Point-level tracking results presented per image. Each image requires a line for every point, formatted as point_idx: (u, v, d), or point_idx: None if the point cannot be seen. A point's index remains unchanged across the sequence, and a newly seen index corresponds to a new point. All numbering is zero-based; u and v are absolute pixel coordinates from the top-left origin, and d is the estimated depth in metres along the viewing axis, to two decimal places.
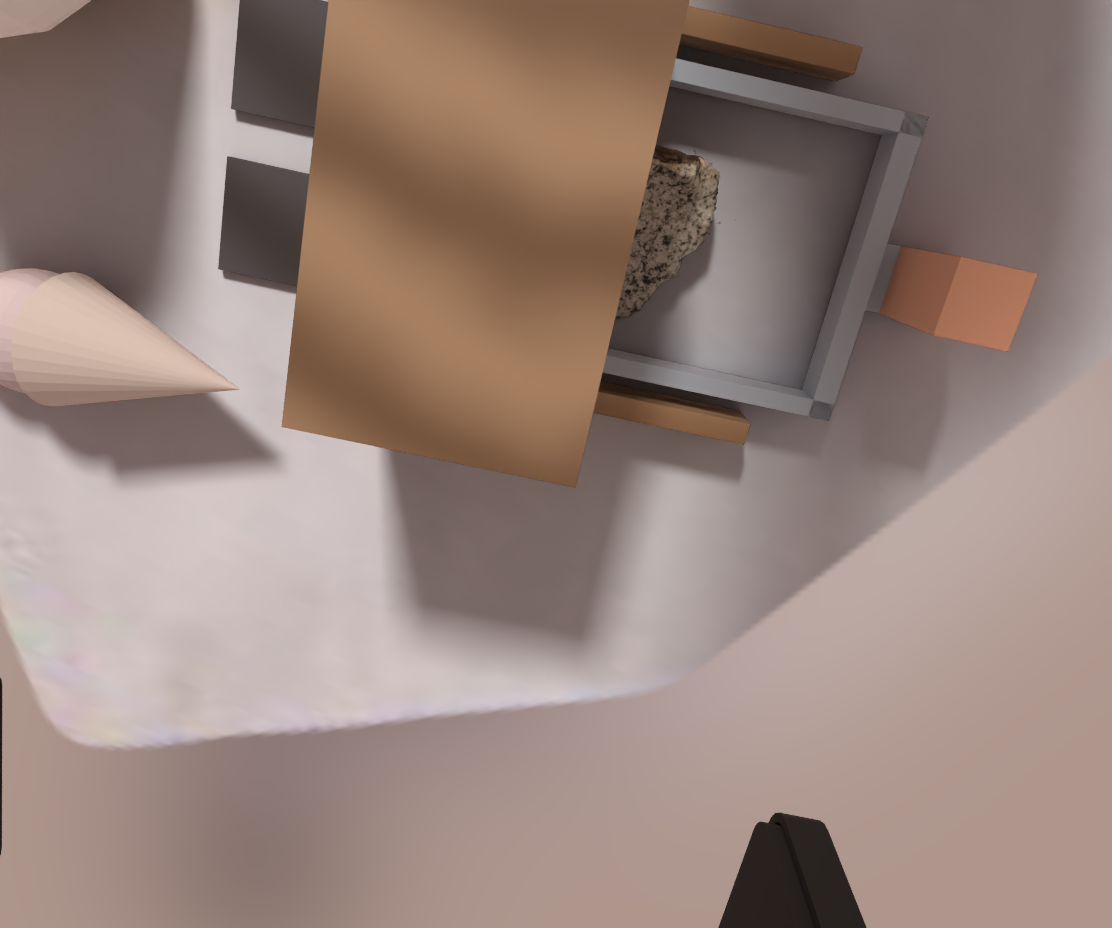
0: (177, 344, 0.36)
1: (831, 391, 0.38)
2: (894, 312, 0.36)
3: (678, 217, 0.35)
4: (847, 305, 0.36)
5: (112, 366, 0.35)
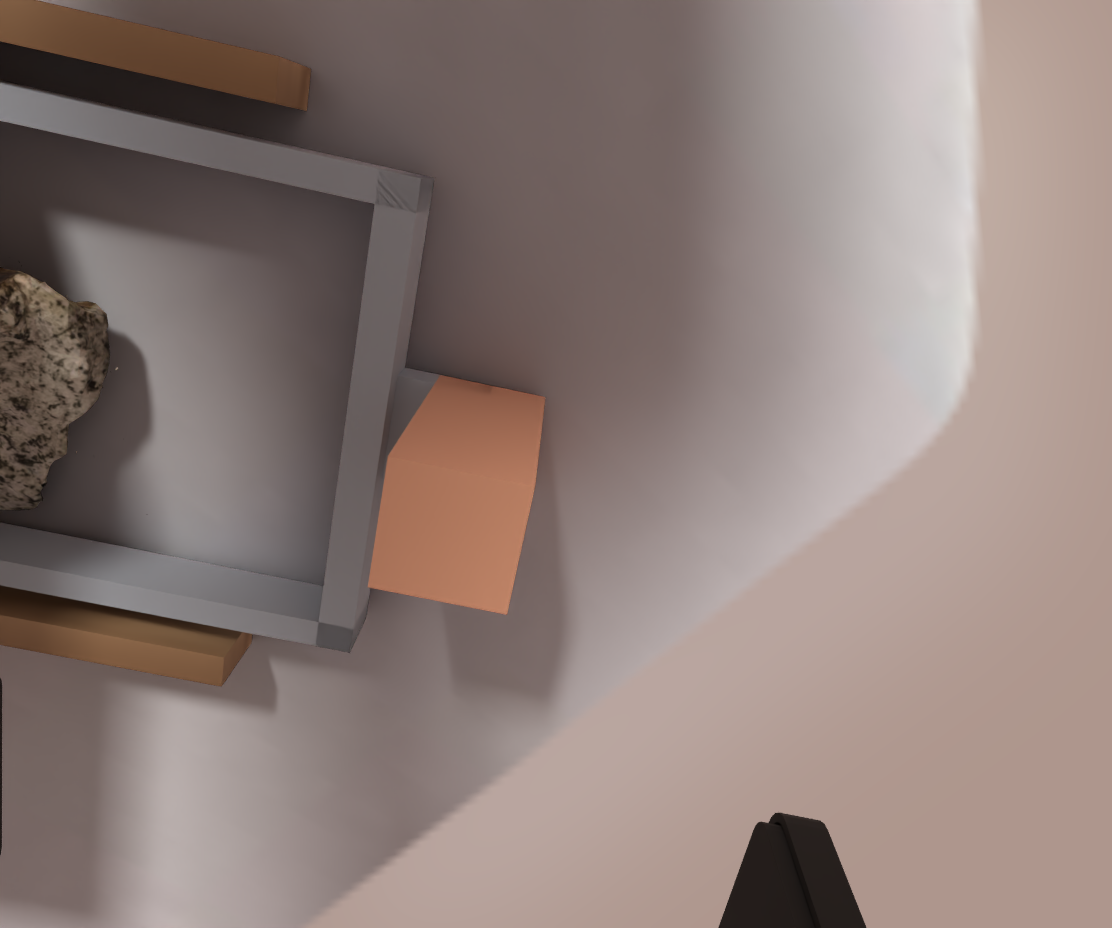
0: None
1: (344, 610, 0.23)
2: None
3: (22, 369, 0.21)
4: (344, 481, 0.22)
5: None
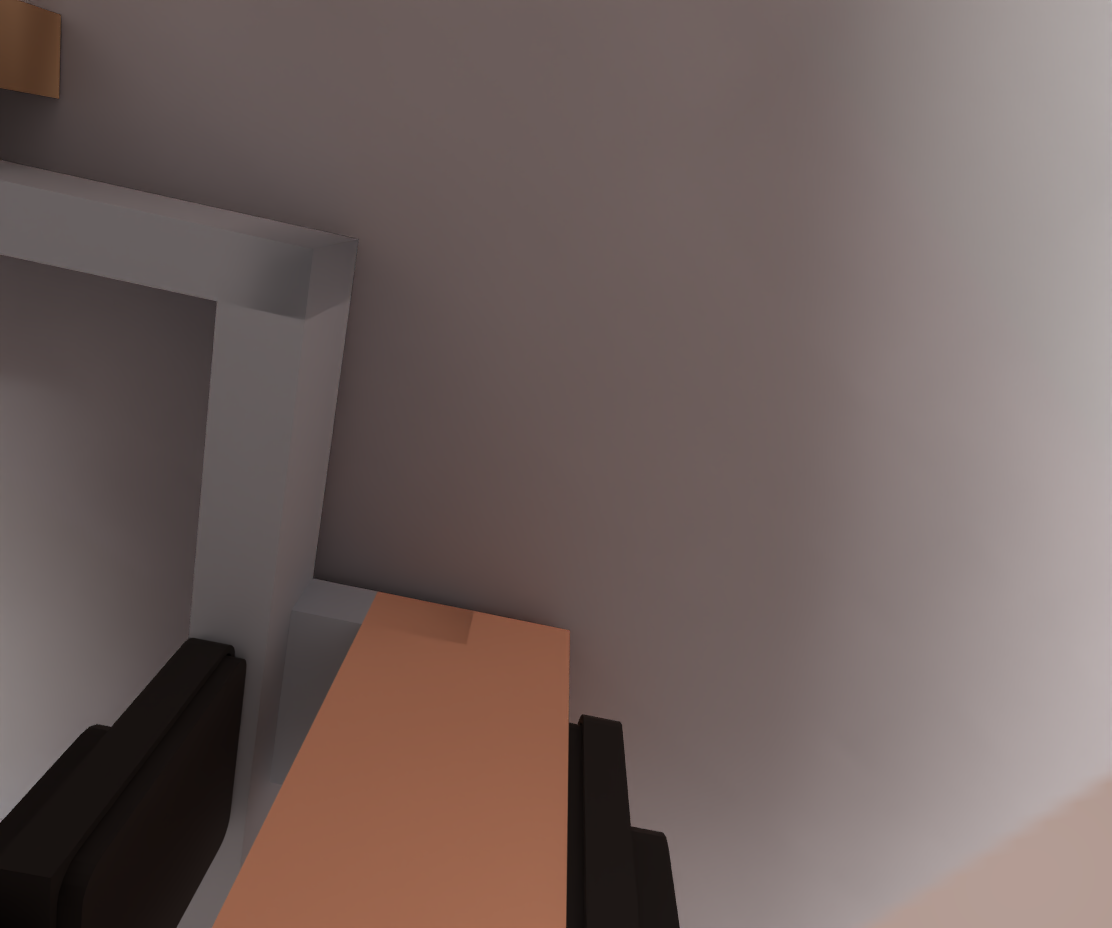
0: None
1: None
2: None
3: None
4: None
5: None
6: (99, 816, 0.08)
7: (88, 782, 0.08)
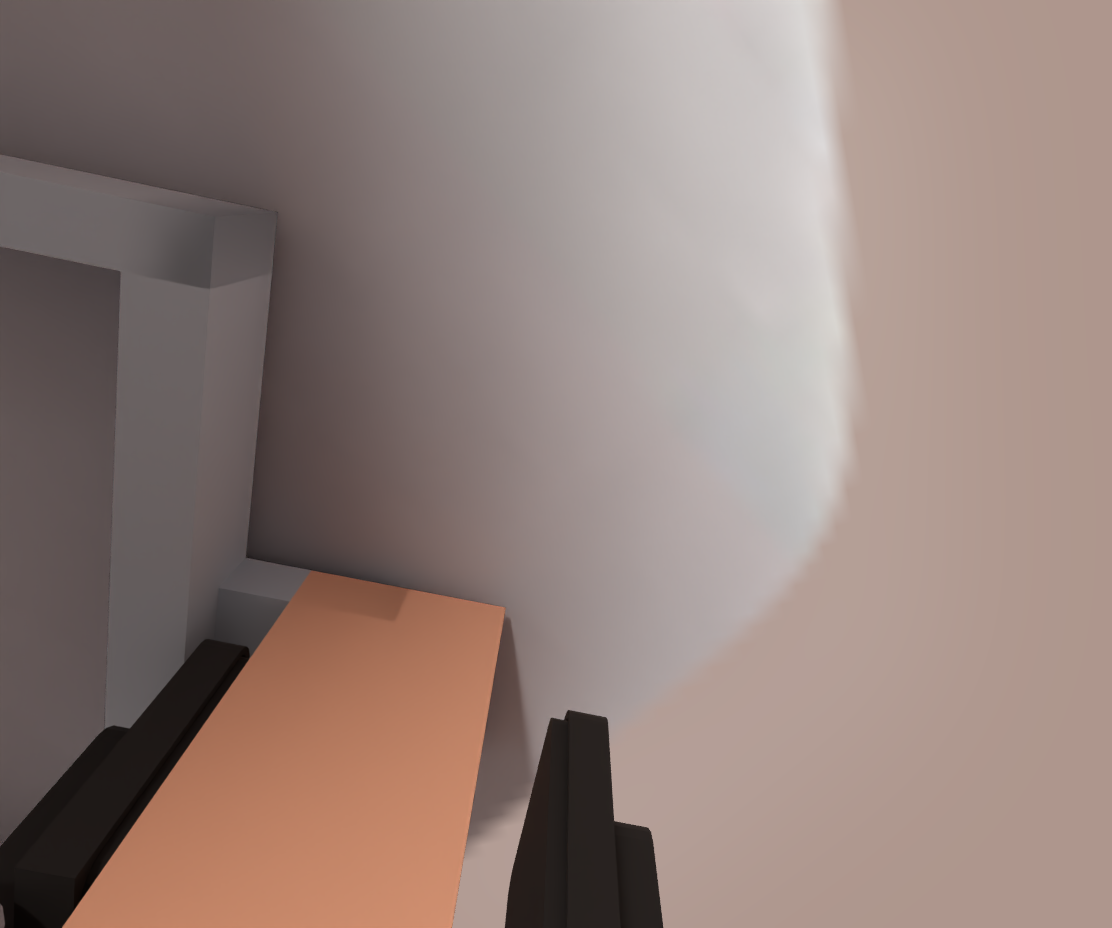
0: None
1: None
2: None
3: None
4: None
5: None
6: (120, 817, 0.08)
7: (109, 783, 0.08)
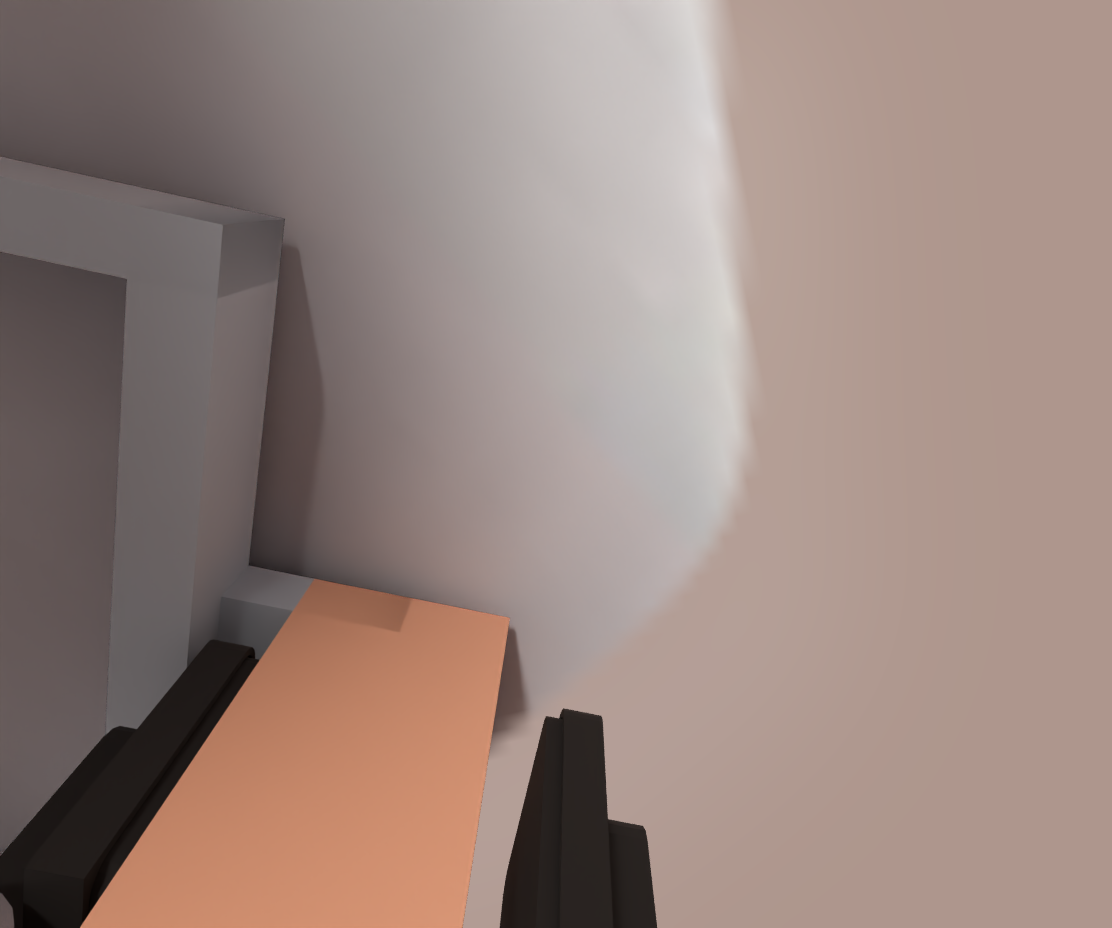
0: None
1: None
2: None
3: None
4: None
5: None
6: (127, 817, 0.08)
7: (116, 784, 0.08)
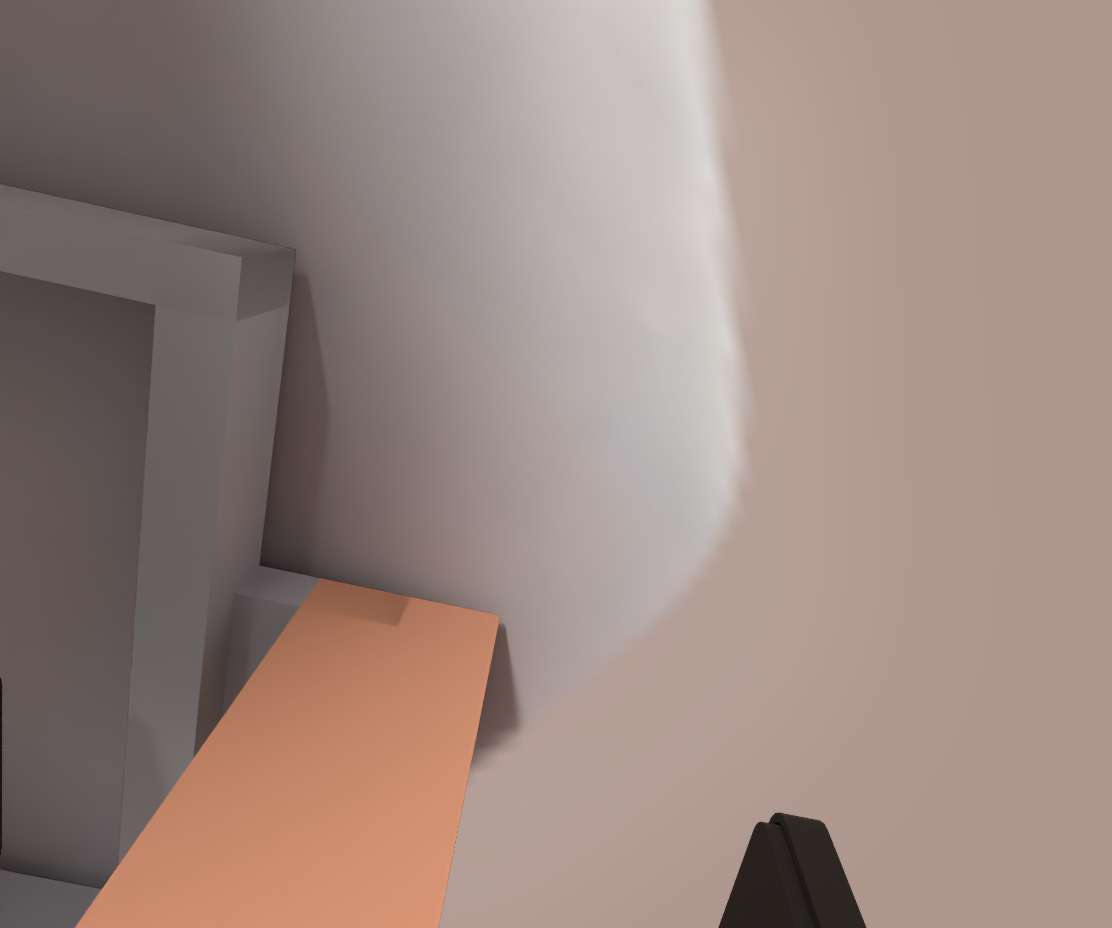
0: None
1: None
2: None
3: None
4: (136, 782, 0.12)
5: None
6: None
7: None
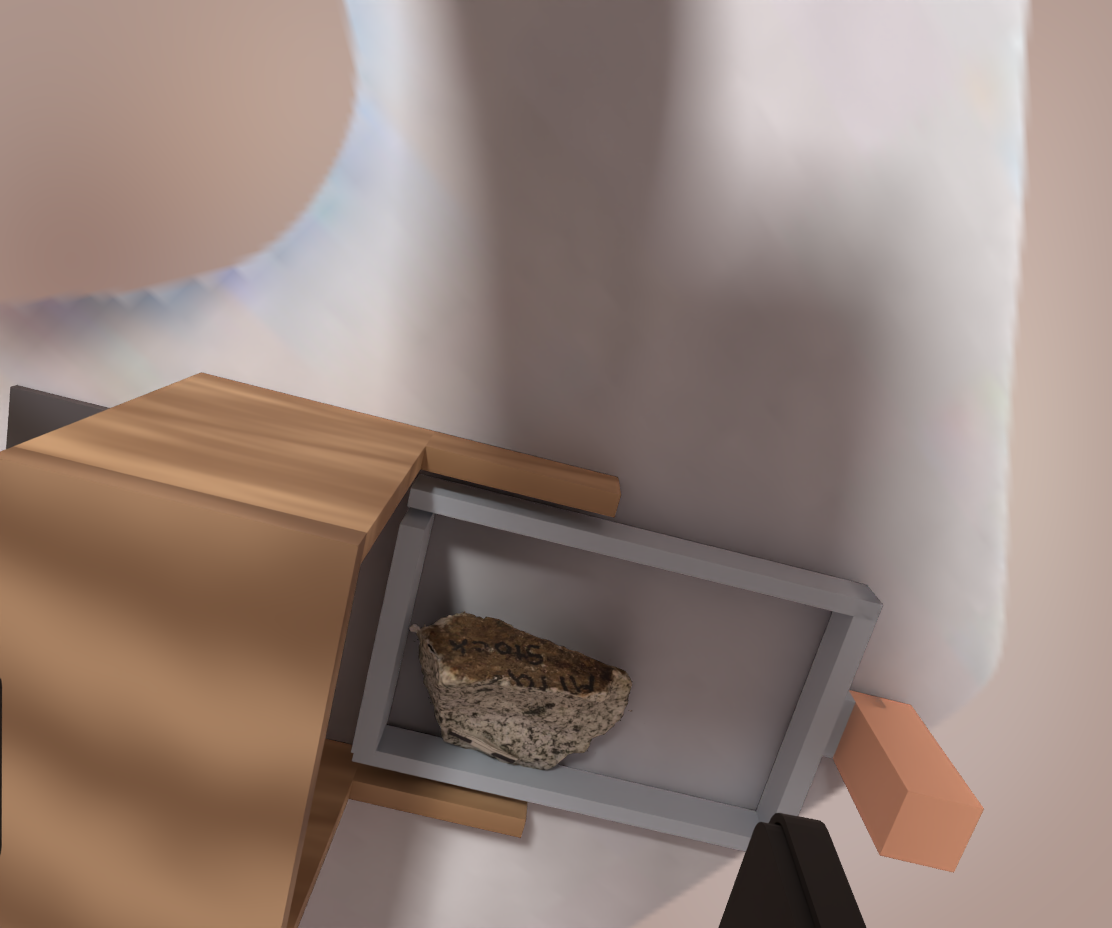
0: None
1: None
2: (846, 777, 0.36)
3: (589, 713, 0.36)
4: (800, 761, 0.36)
5: None
6: None
7: None
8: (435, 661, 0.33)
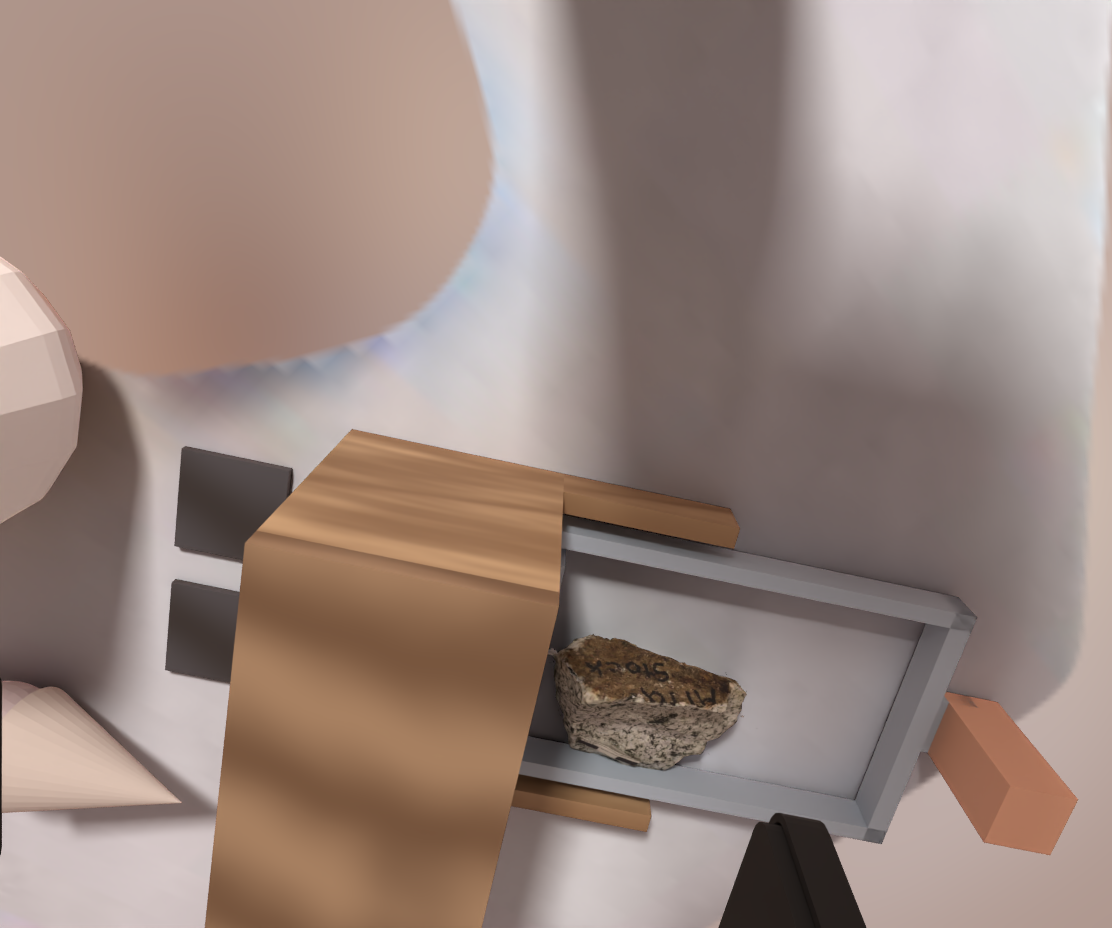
0: (125, 760, 0.40)
1: (883, 821, 0.41)
2: (943, 770, 0.40)
3: (707, 720, 0.40)
4: (900, 756, 0.40)
5: (63, 793, 0.38)
6: None
7: None
8: (576, 682, 0.37)
